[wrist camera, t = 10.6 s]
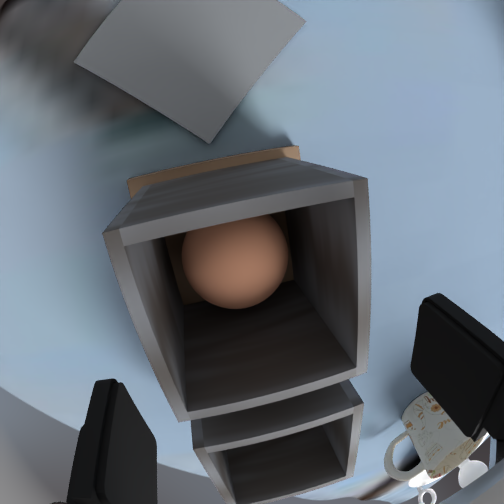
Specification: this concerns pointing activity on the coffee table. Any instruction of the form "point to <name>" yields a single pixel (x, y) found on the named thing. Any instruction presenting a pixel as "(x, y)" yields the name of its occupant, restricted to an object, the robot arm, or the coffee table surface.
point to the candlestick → (466, 473)
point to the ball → (236, 261)
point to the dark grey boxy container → (255, 319)
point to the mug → (430, 440)
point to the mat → (189, 54)
